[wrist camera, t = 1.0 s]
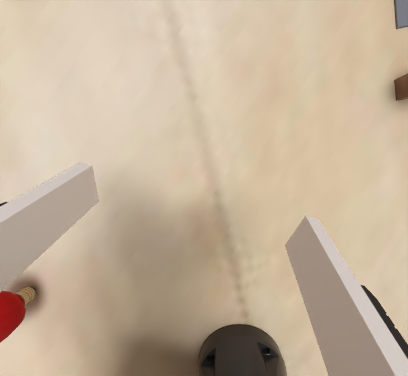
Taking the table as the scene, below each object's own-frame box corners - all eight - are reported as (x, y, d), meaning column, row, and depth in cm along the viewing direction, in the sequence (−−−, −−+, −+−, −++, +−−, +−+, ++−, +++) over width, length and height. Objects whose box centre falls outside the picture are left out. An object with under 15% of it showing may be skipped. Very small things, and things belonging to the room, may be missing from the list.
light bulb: (36, 319, 32) (-41, 385, 22) (4, 297, 32) (-87, 355, 22) (61, 283, 31) (-7, 336, 21) (29, 260, 31) (-55, 303, 21)
